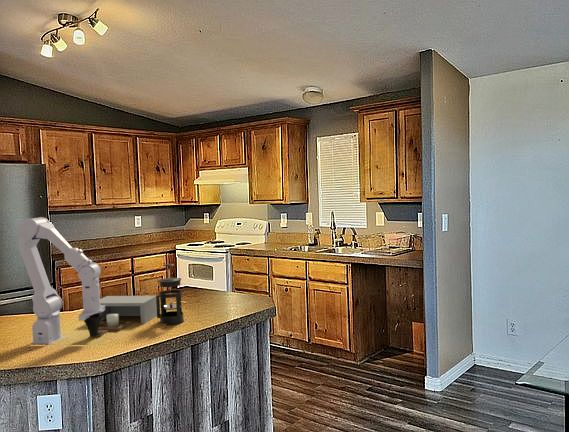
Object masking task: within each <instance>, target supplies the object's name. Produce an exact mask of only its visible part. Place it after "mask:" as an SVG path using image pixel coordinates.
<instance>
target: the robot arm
mask: <svg viewBox="0 0 569 432" xmlns="http://www.w3.org/2000/svg"><path fill="white" fill-rule="evenodd" d="M17 231H18V239H17V244H18V245H17V246H18V249H19V252H20V254H21V257H22V259H23V263H24V266H25V268H26V272H27V275H28V277H29V280H30V283H31V286H32V288H33V291H34V293H33V295H32V298H31V300H32V311H33V313H34V315H35V316H36V317H37V318H36V320H35V321H34V322H33V324H32V327H31V328H32V329H31V330H32V342H31V344H53V343H55V342H57V341H59V340H61V339H63V338H65V337H66V336H67V335H63V334H62V328H61V315H60V314H61V309H62V308H63V304H64V303H63V299H62V298H61V297H60V296H59V294H58V293H57V290H56V289H55V288H53V287H52V286H51V283H50V281H49V278H48V275H47V273H46V269H45V267H44V264H43V262H42V258H41V255H40V253H39V250H38V247H37V246H38V243H39V241H40V240H41V239H43V240H48V241H49V242H50V243H51V244H52V245H53V246H54V247H56V248H57V249H58V251H60V252H61V253H62V254H64V260H65V261H66V262H67V264H69V265H70V266H71V267H72V268H73V269H74V270H75V271H76V272H77V273H78V274H77V277H78V278H79V280H80V281H81V289H82V306H83V310H82V312H81V313H80V314H78V321H80V322H81V321H82V322H84V323H85V325H86V327H87V329H88V333H89V337H90V336H96V335H97V334H98V328H99V324H100V323H101V322H102V321H101V319H102V317H103V314H98V313H99V312H103V311H105V305H100V299H101V291H100V276H101V273H102V268H101V266H100V265H99V264H98V263H97V262H93V260H92V259H89V258H88V256H86V255H85V253H83V252H84V250H83V249H81V248H80V249H79V247H72V245H71V244H70V243H69V242H68V241H67V240H66V239H65V238H64V237H63V235H61V234H60V232H59V231H58V230H57V229H56V228H55V226H54V224H53V223H52V222H50V221H49V220H48V218H46V217H44V216H39V217H33V218H25V219H23V220H22V221H21V222H20V224H19V225H18V227H17Z"/></svg>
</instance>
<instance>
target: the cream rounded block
mask: <svg viewBox="0 0 569 432" xmlns="http://www.w3.org/2000/svg"><path fill="white" fill-rule="evenodd" d="M106 316H107V318H106V321H107V327H108V328H114V327H118V326H119V321H120V316H119V314H118V313H111V314H107V315H106Z"/></svg>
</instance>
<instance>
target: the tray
mask: <svg viewBox="0 0 569 432" xmlns="http://www.w3.org/2000/svg"><path fill="white" fill-rule="evenodd" d="M131 325H132V321H130V320H119V326H118V327H114V328H108V327H107V320H102V321H101V322H100V324H99V328H98V334H97V335H96V336H90V335H89V338H101V337H103V336H104V335H106V334H107V333H108V332H111V333H112V332H115V333H117V332H121V331H122V330H124V329H126V328H127V327H129V326H131Z"/></svg>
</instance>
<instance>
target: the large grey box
mask: <svg viewBox="0 0 569 432" xmlns="http://www.w3.org/2000/svg"><path fill="white" fill-rule="evenodd" d="M156 296H157V295H106V296H104V297H102V298H100V305H105V311H103V312H99V313H98V314H103V317H102V319H101V321H100V322H103V321H105V319H106V320H107V316H106V315H107V314H111V313H118V314H119V317H130V316H131V317H140V324H141V325H142V324H143V325H145V324H147V323H149V322H150V321H151V320H154V318H157V306H156Z"/></svg>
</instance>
